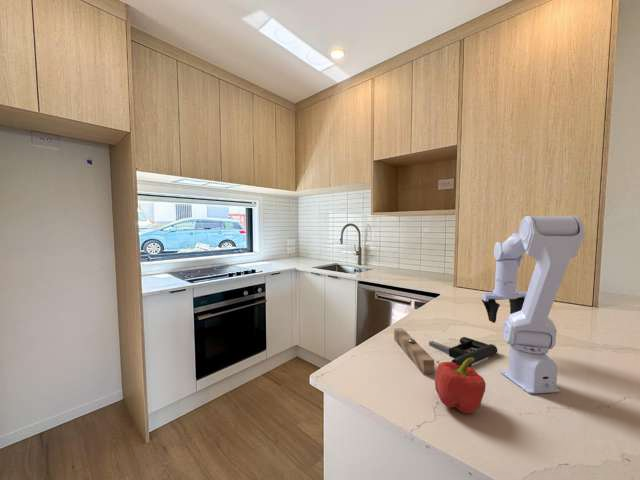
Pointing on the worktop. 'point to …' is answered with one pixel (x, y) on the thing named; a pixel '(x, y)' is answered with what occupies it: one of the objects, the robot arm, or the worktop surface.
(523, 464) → the worktop surface
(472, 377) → the vegetable
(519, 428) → the worktop surface
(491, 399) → the worktop surface
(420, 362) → the bar
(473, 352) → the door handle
